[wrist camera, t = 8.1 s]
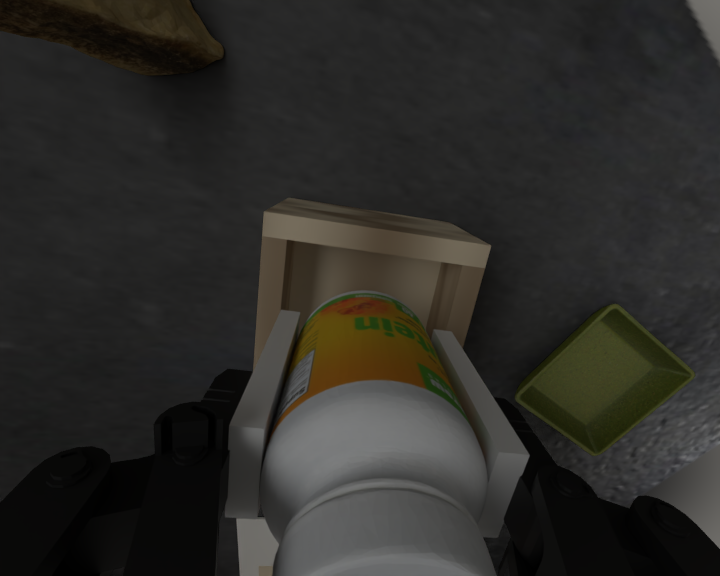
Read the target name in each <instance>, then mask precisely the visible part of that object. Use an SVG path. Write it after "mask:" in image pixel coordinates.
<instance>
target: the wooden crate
mask: <svg viewBox="0 0 720 576" xmlns="http://www.w3.org/2000/svg"><path fill="white" fill-rule="evenodd" d="M490 249H491V245H489V244H487V243H486V242H484V241H482V240H480V239H478V238H477V237H475V236H473V235H471V234H469V233H468V232H466V231H464V230H462V229H460V228H459V227H457V226H455V225H453V224H451V223H450V222H444V221H437V220H431V219H424V218H418V217H411V216H405V215H398V214H392V213H386V212H379V211H373V210H366V209H360V208H353V207H347V206H340V205H334V204H327V203H321V202H314V201H308V200H301V199H295V198H287V199H286V200H284V201H282V202H280V203H278V204H277V205H275V206H273V207H271V208H269V209H268V210H266V211H264V218H263V233H262V248H261V263H260V277H259V292H258V307H257V322H256V337H255V351H254V366H253V371H254V369H255V367H256V364H257V362H258V360H259V358H260V356H261V353H262V351H263V349H264V347H265V344H266V342H267V340H268V338H269V336H270V333H271V331H272V329H273V327H274V324H275V322H276V320H277V318H278V315H279V313H280V311H281V310H287V311H295V312H300V320H299V330H298V337H299V334H300V331H301V329H302V327H303V325H304V323H305V322H306V320H307V319H308V318H309V316H310V315H311V314H312V313H313V312H314V311H315V310H316V309H317V308H318V307H319V306H320V305H321V304H323V303H324V302H326V301H327V300H329V299H330V298H332V297H334V296H337V295H340V294H343V293H346V292H351V291H359V290H368V291H376V292H381V293H384V294H388V295H390V296H392V297H395V298H397V299H398V300H400V301H402V302H403V303H405V304H406V305H407V306H408V307H409V308H410V309H411V310H412V311H413V312H414V313H415V314H416V315H417V317H418V318H419V319H420V321H421V323H422V324H423V326H424V328H425V330H426V332H427V334H428V336H429V338H430V341H431V338H432V334H433V330H434V329H436V330H444V331H452V333H453V335H454V336H455V338H456V339H457V341H458V342H459V344H460V346H461V347H462V349H463V346H464V342H465V338H466V335H467V331H468V328H469V324H470V320H471V317H472V313H473V310H474V306H475V303H476V299H477V295H478V292H479V288H480V285H481V281H482V277H483V274H484V270H485V267H486V263H487V259H488V256H489V252H490Z"/></svg>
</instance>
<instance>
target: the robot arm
mask: <svg viewBox="0 0 720 576" xmlns="http://www.w3.org/2000/svg"><path fill="white" fill-rule="evenodd" d="M299 320H300V312H295V311H287V310H281V311H280V313H279V315H278V318H277V320H276V322H275V324H274V327H273V329H272V331H271V333H270V336H269V338H268V340H267V342H266V344H265V347H264V349H263V351H262V353H261V356H260V358H259V360H258V362H257V364H256V367H255V369H254V371H253V372H252V371H243V370H234V369H227V370H226V371H224V372H223V373H221V374H220V375H218V376H217V377H216V378H215V379H214V381H213V383H212V384H211V386H210V387H209V390H208V391H207V392H206V394H205V396H204V397H203V400H201V402H189V403H183V404H179V405H177V406H174V407H172V408H169V409H168V410H166V411H165V412H164V413H162V414H161V415H160V416H159V417H158V419H157V420H156V422H155V424H154V441H155V454H153V455H151V456H148V457H143V458H139V459H133V460H126V461H120V462H113V463H111V461H110V455H109V454H108V453H107V452H106V451H104V450H103V449H100V448H96V447H92V446H91V447H77V448H73V449H70V450H66V451H63V452H60V453H58V454H56V455H54V456H52V457H50V458H48V459H46V460H44V461H43V462H42V463H41V464H39V465H38V466H37V467H36V468H34V469H33V470H32V471H31V472H30V473H29V474H28V475H27V476H26V477H25V478H24V479H23V480H22V481H21V482H20V483H19V484H18V485H17V486H16V487H15V488H14V489H13V490H12V491H11V492H10V493H9V494H8V495H7V496H6V497H5V498H4V499H3V501H2V502H1V503H0V576H110V575H111V573H112V571H113V570H114V569H118V568H122V567H125V569H124V573H123V576H217V558H218V539H219V521H220V518H221V515H222V512H223V509H224V506H225V517H231V518H244V519H257V516H258V512H259V508H260V504H261V499H260V479H261V471H262V466H263V461H264V457H265V453H266V449H267V445H268V441H269V438H270V435H271V431H272V428H273V424H274V421H275V417H276V414H277V410H278V406H279V403H280V399H281V396H282V392H283V389H284V385H285V382H286V378H287V374H288V371H289V367H290V364H291V360H292V357H293V353H294V349H295V346H296V342H297V339H298V330H299ZM431 343H432V345H433V347H434V349H435V351H436V354H437V356H438V358H439V360H440V362H441V364H442V366H443V369H444V371H445V373H446V375H447V377H448V379H449V381H450V383H451V386H452V388H453V390H454V392H455V394H456V396H457V398H458V400H459V402H460V404H461V407H462V409H463V410H464V412H465V414H466V416H467V418H468V421H469V423H470V425H471V427H472V429H473V431H474V433H475V436H476V438H477V440H478V443H479V445H480V447H481V450H482V453H483V456H484V459H485V463H486V468H487V475H488V490H487V497H486V501H485V505H484V509H483V512H482V515H481V518H480V520H479V522H478V524H477V525H478V528H479V531H480V533H481V535H482V537H490V538H498V536H499V533H500V531H501V528H502V526H503V523H504V521H505V524H506V526H507V528H508V530H509V533H510V535H511V538H510V541H509V543H508V546H507V548H506V551H505V553H504V556H503V558H502V561H501V563H500V566H499V573H498V576H504V573H505V571H506V568H507V566H508V565H509V571H510V576H720V549H719V548H718V547H717V546H716V545H715V543H714V542H713V541H712V540H711V539H710V538H709V537H708V536H707V535H706V534H705V533H704V532H703V531H702V530H701V529H700V528H699V527H698V526H697V524H695V523H694V522H693V521H692V520H691V519H690V518H689V517H688V516H686V515H685V514H684V513H683V512H681V511H680V510H678V509H676V508H675V507H674V506H672V505H670V504H669V503H666V502H664V501H662V500H660V499H658V498H654V497H650V496H638V497H637V498H636V499H635V500H634V501H633V503H632V505H631V507H630V509H629V508H626V507H623V506H620V505H617V504H614V503H612V502H609V501H606V500H603V499H600V498H598V497H597V495H596V494H595V492H594V491H593V489H592V488H591V486H590V485H588V484H587V483H586V482H585V481H584V480H583V479H582V478H581V477H579V476H578V475H576V474H575V473H573V472H571V471H570V470H567V469H565V468H562V467H560V466H557V465H556V463H555V462H554V460H553V459H552V458H551V456H550V455H549V453H548V452H547V451H546V449H545V448H544V446H543V445H542V443H541V442H540V441H539V439H538V438H537V436H536V435H535V433H533V431H532V429H531V428H530V426H529V425H528V423H526V421H525V419H524V418H523V416H522V415H521V413H520V412H519V411H518V409H517V408H515V407H514V406H513V405H512V404H511V403H509V402H508V401H507V400H506V399H503V398H494V397H493V396H492V395H491V393H490V391H489V390H488V388H487V387H486V385H485V384H484V382H483V380H482V379H481V377H480V376H479V374H478V372H477V371H476V369H475V368H474V366H473V365H472V363H471V361H470V360H469V358H468V357H467V355H466V354H465V352H464V350H463V349H462V347H461V346H460V344H459V342H458V341H457V339H456V338H455V336H454V335H453V333H452V331H444V330H436V329H434V330H433V334H432V338H431Z"/></svg>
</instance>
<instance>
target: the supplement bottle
mask: <svg viewBox="0 0 720 576" xmlns="http://www.w3.org/2000/svg"><path fill="white" fill-rule="evenodd" d="M487 490H488V475H487V468H486V463H485V459H484V456H483V453H482V450H481V447H480V445H479V443H478V440H477V438H476V436H475V433H474V431H473V429H472V427H471V425H470V423H469V421H468V418H467V416H466V414H465V412H464V410H463V409H462V407H461V404H460V402H459V400H458V398H457V396H456V394H455V392H454V390H453V388H452V386H451V383H450V381H449V379H448V377H447V375H446V373H445V371H444V369H443V366H442V364H441V362H440V360H439V358H438V356H437V354H436V351H435V349H434V347H433V345H432V343H431V341H430V338H429V336H428V334H427V332H426V330H425V328H424V326H423V324H422V323H421V321H420V319H419V318H418V317H417V315H416V314H415V313H414V312H413V311H412V310H411V309H410V308H409V307H408V306H407V305H406V304H405V303H403V302H402V301H400V300H398V299H397V298H395V297H392V296H390V295H388V294H384V293H381V292H376V291H368V290H359V291H351V292H346V293H343V294H340V295H337V296H334V297H332V298H330V299H329V300H327V301H326V302H324V303H323V304H321V305H320V306H319V307H318V308H317V309H316V310H315V311H314V312H313V313H312V314H311V315H310V316H309V318H308V319H307V320H306V322H305V323H304V325H303V327H302V329H301V331H300V334H299V337H298V339H297V342H296V346H295V349H294V353H293V357H292V360H291V364H290V367H289V371H288V374H287V378H286V382H285V385H284V389H283V392H282V396H281V399H280V403H279V406H278V410H277V414H276V417H275V421H274V424H273V428H272V431H271V435H270V438H269V441H268V445H267V449H266V453H265V457H264V461H263V466H262V471H261V479H260V499H261V506H262V511H263V515H264V518H265V520H266V523H267V525H268V527H269V530H270V532H271V533H272V535H273V536H274V538H275V539H276V541H277V542H278V544H279V547H278V549H277V552H276V555H275V559H274V563H273V572H272V576H497V575H496V572H495V569H494V566H493V563H492V561H491V558H490V555H489V552H488V549H487V546H486V543H485V541H484V539H483V537H482V535H481V533H480V531H479V528H478V525H477V524H478V522H479V520H480V518H481V515H482V512H483V509H484V505H485V501H486V497H487Z"/></svg>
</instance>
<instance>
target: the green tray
mask: <svg viewBox="0 0 720 576" xmlns="http://www.w3.org/2000/svg"><path fill="white" fill-rule="evenodd" d="M694 377H695V373H694V371H693V370H692V369H691V368H690V367H689V366H687V365H686V364H685V363H684V362H683V361H682V360H681V359H680V358H678V357H677V356H676V355H675V354H674V353H673V352H671V351H670V350H669V349H668V348H667V347H666V346H664V345H663V344H662V343H661V342H660V341H659V340H658V339H656V338H655V337H654V336H653V335H652V334H651V333H650V332H649V331H648V330H646V329H645V328H644V327H643V326H642V325H641V324H640V323H639V322H638V321H636V320H635V319H634V318H633V317H632V316H631V315H630V314H629V313H628V312H626V311H625V310H624V309H623V308H622V307H621V306H620V305H618V304H611V305H608V306H606V307H603V308H601V309H600V310H598V311H596V312H595V313H594V314H592V315H591V316H590V317H589V318H588V319H587V320H586V321H585V322H584V323H583V324H582V325H581V326H580V327H579V328H578V329H576V330H575V331H574V332H573V333H572V334H571V335H570V336H569V337H568V338H567V339H566V340H565V341H564V342H563V343H562V344H561V345H560V346H559V347H558V348H556V349H555V350H554V351H553V352H552V353H551V354H550V355H549V356H548V357H547V358H546V359H545V360H544V361H543V362H542V363H541V364H540V365H539V366H538V367H537V368H535V369H534V370H533V371H532V372H531V373H530V374H529V375H528V376H527V377H526V378H525V379H524V380H523V381H522V382H521V384H520V385H519V387H518V389H517V391H516V394H515V400H516V401H517V402H518V403H519V404H520V405H522V406H523V407H524V408H526V409H527V410H529V411H530V412H531V413H533V414H535V415H536V416H537V417H539V418H540V419H542V420H543V421H544V422H546V423H547V424H549V425H550V426H551V427H553V428H554V429H556V430H557V431H559V432H560V433H561V434H563V435H564V436H565V437H567V438H568V439H570V440H571V441H572V442H574V443H575V444H576V445H578V446H579V447H580V448H582V449H583V450H585V451H586V452H588V453H589V454H590V455H592V456H597V455H600V454H602V453H603V452H604V451H606V450H607V449H608V448H609V447H611V446H612V445H613V444H614V443H616V442H617V441H618V440H619V439H621V438H622V437H623V436H624V435H625V434H626V433H628V432H629V431H630V430H631V429H633V428H634V427H635V426H636V425H637V424H639V423H640V422H641V421H642V420H644V419H645V418H646V417H647V416H649V415H650V414H651V413H652V412H653V411H655V410H656V409H657V408H658V407H660V406H661V405H662V404H663V403H664V402H666V401H667V400H668V399H669V398H671V397H672V396H673V395H674V394H676V393H677V392H678V391H679V390H680V389H682V388H683V387H684V386H685V385H686V384H688V383H689V382H690V381H691V380H693V379H694Z"/></svg>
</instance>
